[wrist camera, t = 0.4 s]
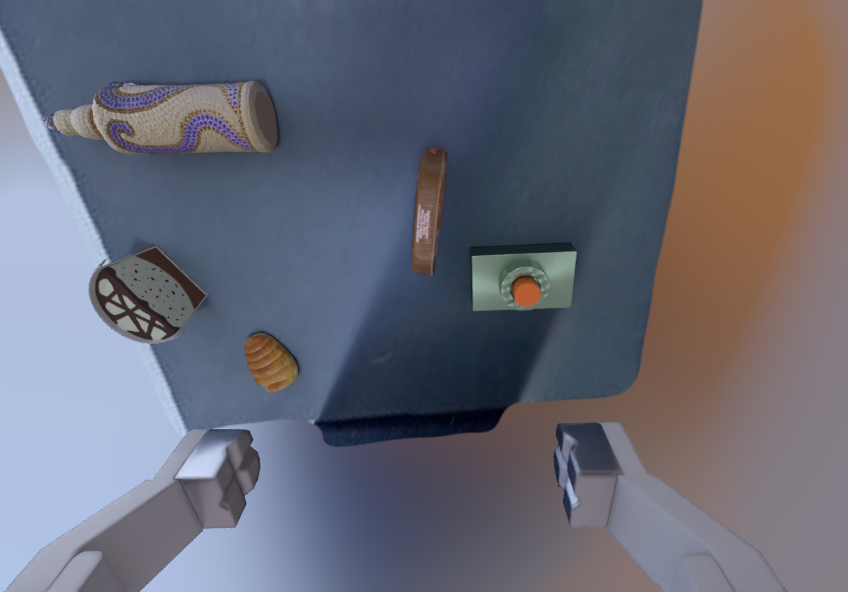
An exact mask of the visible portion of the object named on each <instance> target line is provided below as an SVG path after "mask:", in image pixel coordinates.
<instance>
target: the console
mask: <svg viewBox="0 0 848 592" xmlns="http://www.w3.org/2000/svg"><path fill="white" fill-rule="evenodd" d="M576 254H577V251H576V250H575V248H574V247H573V246H572V244H571V243H558V244H538V245H517V246H497V247H476V248H471V298H472V308H473V311H487V310H513V309H516V310H532V309H539V308H565V307H571V302H572V292H573V283H574V273H575V264H576ZM521 277H531V278H533V279H534V280H535V281H536V282H537V284H538V286H539V289H540V291H541V297H540V299H539V301H538V302H537V303H536V304H534V305H532V306H528V307H525V306H521V305H519V304H518V303H517V302H516V301H515V298H514V295H513V292H512V286H513V284H514V282H515V281H516V280H517V279H519V278H521Z"/></svg>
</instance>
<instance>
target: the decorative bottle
mask: <svg viewBox="0 0 848 592" xmlns="http://www.w3.org/2000/svg"><path fill="white" fill-rule="evenodd" d="M113 84H117V85H118V86H114V85H113ZM121 84H123V85H124V86H120V85H121ZM133 85H134V86H133ZM43 121H44V123H45V125H46V126H47V127H49V128H50V129H51V130H52V131H54V132H58V133H62V134H65V135H68V136H83V137H86V138H91V139H94V140H103V139H105V140H106V141H107V143H108V144H109V145H110V146H111V147H112V148H114V149H115V150H117V151H119V152H122V153H125V154H176V153H205V152H208V153H211V152H262V153H267V152H272V151H273V150H274V148H275V146H276V144H277V140H278V123H277V119H276V114H275V110H274V106H273V103H272V101H271V99H270V97H269V95H268V93H267V91H266V89H265V87H264V86H263V85H262V84H260V83H258V82H255V81H249V82H242V83H241V82H238V83H235V84H232V83H227V84H220V83H217V84H203V85H199V84H193V85H150V86H148V85H144V84H141V83H134V82H125V83H120V82H116V81H115V82H112V83H110V86H109V87H105V88H103V89H101V90H99V91H97V93H96V94H95V97H94V100H93V105H91V104H89V105H83V106H80V107H78V108H76V109H74V110H59V111H57V112H55V113H53V114H50V115H48V116H46V117H44V119H43Z"/></svg>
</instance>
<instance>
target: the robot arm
mask: <svg viewBox="0 0 848 592" xmlns="http://www.w3.org/2000/svg"><path fill="white" fill-rule="evenodd" d="M556 437H557V440H558V445H557V446H556V447H555V448H554V467H555V474H556V478H557V482H558V486H559V487H560V488H561V489H562V490H563V491H564V499H563V503H564V507H565V511H566V514H567V517H568V521H569V524H570V527H579V528H607V531H608V532H609V533H610V534H611V535H612V536H613V538H614V539H615V540H616V541H617V542H618V543H619V544H620V545H621V546H622V547H623V548H624V549H625V551H626V552H627V553H628V554H629V555H630V556H631V557H632V558H633V559H634V560H635V562H636V563H637V564H638V565H639V566H640V567H641V568H642V569H643V570H644V571H645V572H646V573H647V575H648V576H649V577H650V578H651V579H652V580H653V581H654V582H655V583H656V584H657V585H658V587H659V588H660V589H661V590H662V591H663V592H787V590H786V589H785V587H784V586H783V584H782V583H781V582H780V580H779V578H778V577H777V576H776V574H775V572H774V571H773V569H772V568H771V567H770V565H769V563H768V562H767V560H766V559H765V558H764V556H763V555H762V553H761V552H760V551H759V550H757V549H756V548H755V547H753V546H752V545H751V544H749V543H748V542H746V541H745V540H743V539H742V538H741V537H740V536H738V535H737V534H735V533H734V532H733V531H731V530H730V529H729V528H727V527H726V526H724V525H723V524H722V523H720V522H719V521H718V520H716V519H715V518H713V517H712V516H711V515H709V514H708V513H707V512H705V511H704V510H702V509H701V508H700V507H698V506H697V505H696V504H694V503H693V502H692V501H690V500H689V499H687V498H686V497H685V496H683V495H682V494H680V493H679V492H678V491H676V490H675V489H674V488H672V487H671V486H670V485H668V484H667V483H665V482H664V481H663V480H661V479H660V478H659V477H657V476H656V475H649V474H648V472H647V471H646V469H645V467H644V465H643V463H642V461H641V459H640V457H639V455H638V453H637V451H636V450H635V448H634V446H633V444H632V442H631V440H630V438H629V436H628V434H627V433H626V431H625V429H624V427H623V425H622V424H621V423H619V422H599V423H563V424H558V426H557V429H556ZM252 441H253V438H252V435H251V433H250V431H248V430H240V429H235V430H234V429H233V430H232V429H210V430H196V429H193V430H191V431H190V432H188V433H187V434H186V435H185V436H184V438H183V439H182V440H181V442H180V443H179V444H178V446H177V447H176V449H175V450H174V451H173V453H172V454H171V455H170V457H169V458H168V459H167V461H166V462H165V464H164V465H163V466H162V467H161V469H160V470H159V472H158V473H157V475H156V476H155V477H154V478H153V480H146V481H144V482H143V483H141V484H140V485H138V486H137V487H135V488H134V489H132V490H130V491H129V492H127V493H126V494H124V495H123V496H121V497H120V498H118V499H117V500H115V501H114V502H112V503H111V504H109V505H108V506H106V507H104V508H103V509H101V510H100V511H98V512H97V513H95V514H94V515H92V516H91V517H89V518H88V519H86V520H84V521H83V522H82V523H80V524H78V525H77V526H75V527H74V528H72V529H71V530H69V531H68V532H66V533H65V534H63V535H61V536H60V537H58V538H57V539H55V540H54V541H52V542H51V543H49V544H48V545H46V546H45V547H43V548H42V549H40V550H39V552H38V553H37V554H36V555H35V556H34V557H33V559H32V560H31V561H30V562H29V563H28V565H26V567H25V568H24V569H23V570H22V571H21V572H20V574H19V575H18V576H17V577H16V578H15V579H14V581H13V582H12V583H11V584H10V585H9V586H8V587H7V589H6V590H5V591H4V592H140V591H141V590H142V589H143V588H144V587H145V586H146V585H147V584H148V583H149V582H150V581H151V580H152V579H153V578H154V577H155V576H156V575H157V574H158V573H159V572H160V571H161V570H163V568H165V567H166V565H168V564H169V563H170V562H171V561H172V560H173V559H174V558H175V557H176V556H177V555H178V554H179V553H180V552H181V551H182V550H183V549H184V548H185V547H186V546H187V545H188V544H189V543H191V542H192V541H193V540H194V539H195V538H196V537H197V536H198V535H199V534H200V533H201V532H202V531H203V529H205V528H235V527H236V525H237V523H238V521H239V519H240V517H241V514H242V512H243V510H244V508H245V506H246V500H245V495H246V494H248V493H249V492H250V491H251V490H253V489H254V487H255V484H256V482H257V480H258V477H259V471H260V458H259V455H258V452H257V451H256V450H254V449H253V448H252V447H251V446H250V445H251V443H252Z"/></svg>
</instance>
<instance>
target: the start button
mask: <svg viewBox="0 0 848 592" xmlns="http://www.w3.org/2000/svg"><path fill="white" fill-rule="evenodd" d="M512 292H513V295H514V298H515V301H516V302H517V303H518V304H519V305H521V306H525V307H528V306H532V305H534V304H536V303H537V302H538V301H539V299H540V297H541V291H540V289H539V286H538V284H537V282H536V281H535V280H534V279H533V278H531V277H521V278H519V279H517V280H516V281H515V282H514V284H513V286H512Z"/></svg>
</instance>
